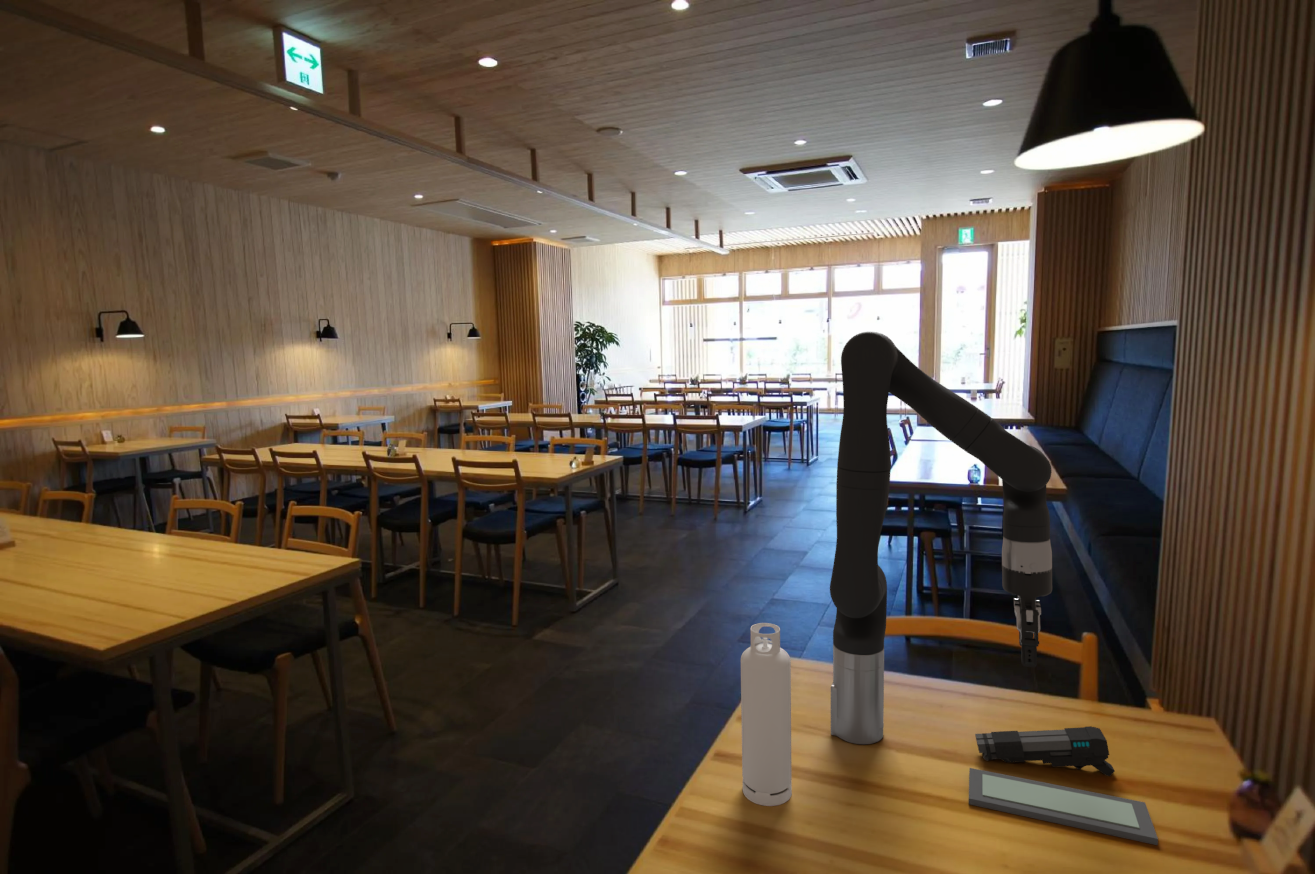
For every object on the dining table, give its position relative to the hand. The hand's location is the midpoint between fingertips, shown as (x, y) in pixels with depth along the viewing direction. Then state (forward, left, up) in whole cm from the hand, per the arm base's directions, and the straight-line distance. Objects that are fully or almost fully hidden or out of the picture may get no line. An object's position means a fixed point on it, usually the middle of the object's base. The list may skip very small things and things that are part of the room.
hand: (1027, 655), depth 121 cm
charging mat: (+4, -12, -19) cm, 23 cm away
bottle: (-39, -25, -19) cm, 50 cm away
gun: (+3, 0, -20) cm, 20 cm away
